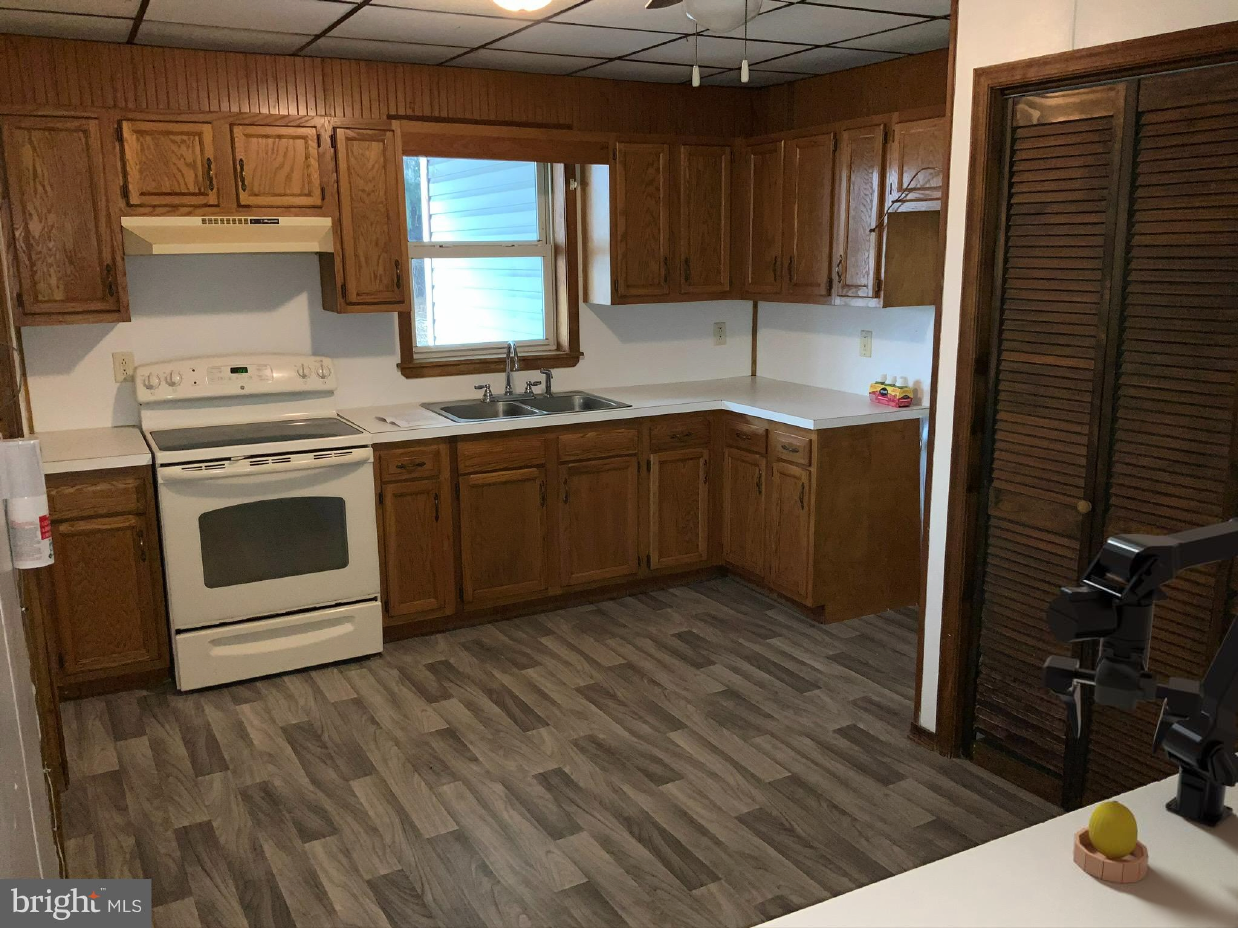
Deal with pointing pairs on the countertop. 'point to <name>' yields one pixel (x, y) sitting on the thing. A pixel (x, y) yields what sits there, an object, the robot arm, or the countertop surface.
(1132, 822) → the lemon
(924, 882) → the countertop surface
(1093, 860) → the dish
